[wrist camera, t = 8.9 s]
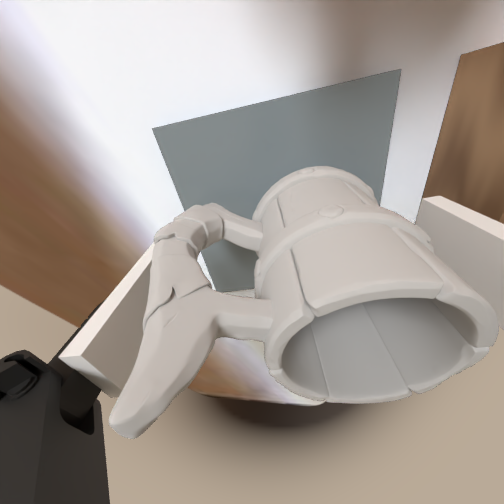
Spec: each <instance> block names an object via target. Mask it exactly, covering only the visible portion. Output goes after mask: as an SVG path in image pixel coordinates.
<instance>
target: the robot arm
mask: <svg viewBox="0 0 504 504" xmlns="http://www.w3.org/2000/svg"><path fill="white" fill-rule="evenodd" d="M415 225H417V226H419V227H421V228H422V229H423V230H424V231H425V232H426V233H427V234H428V236H429V237H430V238H431V243H430V244H431V245H433V248H434V252H435V255H436V256H437V257H438V258H439V259H441V260H442V261H443V262H444V263H445V264H446V265H447V266H449V267H450V268H451V269H452V270H453V271H454V272H455V273H457V274H458V275H459V276H460V277H461V278H462V279H463V280H465V281H466V282H467V283H468V284H469V285H470V286H471V287H472V288H474V289H475V290H476V291H477V292H478V293H479V294H480V295H481V296H483V297H484V298H485V299H486V300H487V302H488V303H489V304H490V305H491V306H492V308H493V309H494V311H495V313H496V315H497V318H498V324H499V326H500V327H501V328H502V329H503V330H504V224H502V223H500V222H498V221H496V220H493V219H491V218H489V217H487V216H484V215H482V214H480V213H478V212H475V211H473V210H471V209H469V208H467V207H464V206H462V205H460V204H458V203H455V202H453V201H451V200H449V199H446V198H444V197H442V196H434V197H428V198H422V201H421V205H420V208H419V212H418V216H417V219H416V223H415ZM154 246H155V244H154V242H153V244H152V245H151V246H150V247H149V248H148V250H147V251H146V252H145V253H144V254H143V256H142V257H141V258H140V259H139V261H138V262H137V263H136V264H135V265H134V267H133V268H132V269H131V270H130V271H129V273H128V274H127V275H126V276H125V277H124V279H123V280H122V281H121V282H120V283H119V285H118V286H117V287H116V288H115V289H114V291H113V292H112V293H111V294H110V295H109V297H108V298H107V299H105V300H104V301H103V302H102V303H100V304H99V305H98V306H97V307H96V308H95V309H94V310H93V312H92V313H91V314H90V315H89V316H88V319H86V320H85V321H84V322H83V323H82V324H81V327H80V328H78V329H77V330H76V332H75V333H74V334H73V335H72V336H71V337H70V339H69V340H68V341H67V342H66V343H65V345H64V346H63V347H62V348H61V349H60V350H59V352H58V353H57V354H56V355H55V356H54V357H53V359H52V360H51V361H50V362H49V363H48V364H46V363H45V362H43V361H42V360H40V359H39V358H38V357H36V356H35V355H34V354H32V353H31V352H29V351H26V350H21V351H16V352H14V353H12V354H9V355H7V356H5V357H4V358H2V359H0V504H110V500H109V488H108V477H107V467H106V456H105V446H104V434H103V423H102V412H101V404H100V402H99V401H98V400H97V397H98V395H99V393H100V392H101V390H102V391H103V392H104V393H106V394H107V395H108V396H109V397H111V398H113V397H119V396H120V394H121V392H122V390H123V388H124V386H125V384H126V383H127V381H128V379H129V377H130V375H131V372H132V370H133V368H134V365H135V363H136V360H137V357H138V354H139V350H140V346H141V342H142V339H143V335H144V333H143V319H144V315H145V311H146V306H147V301H148V294H149V285H150V268H151V266H152V255H153V249H154Z"/></svg>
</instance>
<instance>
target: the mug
mask: <svg viewBox="0 0 504 504" xmlns="http://www.w3.org/2000/svg"><path fill="white" fill-rule="evenodd" d="M221 239H224V240H227V241H230V242H232V243H234V244H236V245H238V246H241V247H243V248H246V249H250V250H253V251H256V254H257V256H258V257H259V259H258V260H257V261H256V265H255V269H254V277H255V278H254V281H255V298H251V297H240V296H234V295H229V294H225V293H221V292H218V291H215V290H213V289H212V286H211V283H210V281H209V280H208V279H207V278H206V276H205V275H204V273H203V271H202V269H201V267H200V265H199V263H198V262H197V257H198V255H199V253H200V251H201V250H204V249H206V248H207V247H209V246H210V245H212V244H214V243H216V242H219V241H220V240H221ZM430 243H431V238H430V237H429V236H428V234H427V233H426V232H425V231H424V230H423V229H422V228H421V227H419V226H417V225H414V224H413V223H412V222H410V221H408V220H407V219H405V218H404V217H402V216H401V215H399V214H397V213H395V212H393V211H390V210H388V209H385V208H382V207H380V206H379V205H378V203H377V200H376V198H375V197H374V193H373V190H372V188H371V187H370V186H368V185H366V184H365V183H364V182H363V181H362V180H361V179H360V178H358V177H357V176H355V175H353V174H351V173H349V172H346V171H344V170H342V169H337V168H334V167H329V166H315V167H307V168H303V169H300V170H297V171H295V172H293V173H291V174H289V175H287V176H285V177H283V178H281V179H280V180H279V181H278V182H276V183H275V184H274V185H273V186H271V188H270V189H269V190H268V191H267V192H266V193H265V195H264V196H263V197H262V199H261V200H260V202H259V204H258V205H257V208H256V210H255V212H254V213H253V217H252V220H250V219H247V218H244V217H241V216H238V215H236V214H234V213H232V212H230V211H228V210H226V209H225V208H224V207H222V206H220V205H218V204H216V203H210V204H206V205H203V206H201V205H194V206H192V207H190V208H189V209H188V210H186V211H185V212H183V213H182V214H180V215H178V216H177V217H175V218H174V221H173V222H171V223H169V224H167V225H166V226H164V227H163V228H161V229H160V230H159V231H158V232H157V233H156V234H155V236H154V244H155V246H154V249H153V255H152V266H151V268H150V285H149V294H148V301H147V306H146V311H145V315H144V319H143V333H144V335H143V339H142V342H141V346H140V350H139V354H138V357H137V360H136V363H135V365H134V368H133V370H132V372H131V375H130V377H129V379H128V381H127V383H126V384H125V386H124V388H123V390H122V392H121V394H120V396H119V398H118V400H117V402H116V404H115V406H114V408H113V410H112V412H111V414H110V417H109V425H110V426H111V427H112V428H113V429H114V430H115V431H116V432H117V433H118V434H119V435H121V436H123V437H126V438H130V439H135V438H137V437H139V436H140V435H141V434H143V433H144V432H145V431H146V430H147V429H148V427H150V426H151V425H152V424H153V423H154V422H155V421H156V419H157V418H158V417H159V416H160V415H161V414H162V413H163V412H164V411H165V410H166V408H167V407H168V406H169V405H170V403H171V402H172V400H173V399H174V398H175V397H176V396H177V395H178V394H179V393H181V392H182V391H184V390H185V389H186V388H187V387H188V386H189V385H190V383H191V382H192V381H193V379H194V378H195V377H196V375H197V373H198V372H199V370H200V368H201V367H202V365H203V364H204V362H205V360H206V359H207V357H208V355H209V353H210V352H211V350H212V348H213V346H214V343H215V340H216V339H217V338H220V337H228V338H234V339H239V340H256V341H261V342H264V354H265V362H266V364H267V367H268V368H269V373H270V375H271V376H273V377H274V378H275V380H276V381H277V382H278V383H280V384H281V385H283V386H284V387H285V388H287V389H288V390H290V391H291V392H293V393H295V394H297V395H300V396H303V397H306V398H309V399H312V400H317V401H324V400H326V401H327V402H334V403H352V404H366V403H379V402H390V401H396V400H400V399H403V398H406V397H410V396H411V395H412V391H414V392H416V393H418V394H421V393H424V392H426V391H429V390H431V389H433V388H435V387H436V386H437V385H439V384H440V383H442V382H443V381H445V380H447V379H448V378H449V377H450V376H452V375H454V374H458V373H460V372H462V371H463V370H465V369H467V368H469V367H471V366H473V365H474V364H476V363H477V362H479V361H480V360H481V359H483V358H484V357H485V356H486V355H487V354H488V352H489V346H493V345H494V343H495V341H496V339H497V336H498V331H499V324H498V318H497V315H496V313H495V311H494V309H493V308H492V306H491V305H490V304H489V303H488V302H487V300H486V299H485V298H484V297H483V296H481V295H480V294H479V293H478V292H477V291H476V290H475V289H474V288H472V287H471V286H470V285H469V284H468V283H467V282H466V281H465V280H463V279H462V278H461V277H460V276H459V275H458V274H457V273H455V272H454V271H453V270H452V269H451V268H450V267H449V266H447V265H446V264H445V263H444V262H443V261H442V260H441V259H439V258H438V257H437V256H436V255H435V252H434V248H433V245H431V244H430ZM411 390H412V391H411Z"/></svg>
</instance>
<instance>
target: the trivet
mask: <svg viewBox="0 0 504 504" xmlns="http://www.w3.org/2000/svg"><path fill="white" fill-rule="evenodd" d="M400 75H401V69H398V70H394V71H390V72H385V73H381V74H377V75H373V76H369V77H365V78H360V79H356V80H352V81H348V82H344V83H340V84H335V85H331V86H327V87H323V88H319V89H315V90H310V91H306V92H302V93H298V94H294V95H290V96H285V97H281V98H277V99H273V100H269V101H265V102H260V103H256V104H252V105H248V106H244V107H240V108H236V109H231V110H227V111H223V112H219V113H215V114H211V115H206V116H202V117H198V118H194V119H190V120H186V121H181V122H177V123H173V124H169V125H165V126H161V127H156V128H152V130H153V133H154V135H155V138H156V140H157V143H158V145H159V148H160V150H161V153H162V155H163V158H164V160H165V163H166V165H167V168H168V170H169V173H170V175H171V178H172V180H173V183H174V185H175V188H176V190H177V193H178V196H179V198H180V201H181V203H182V206H183V208H184V211H186V210H188V209H189V208H190V207H192V206H194V205H201V206H203V205H206V204H210V203H216V204H218V205H220V206H222V207H224V208H225V209H226V210H228V211H230V212H232V213H234V214H236V215H238V216H241V217H244V218H247V219H250V220H252V217H253V213H254V212H255V210H256V208H257V205H258V204H259V202H260V200H261V199H262V197H263V196H264V195H265V193H266V192H267V191H268V190H269V189H270V188H271V186H273V185H274V184H275V183H276V182H278V181H279V180H280V179H281V178H283V177H285V176H287V175H289V174H291V173H293V172H295V171H297V170H300V169H303V168H307V167H315V166H329V167H334V168H337V169H342V170H344V171H346V172H349V173H351V174H353V175H355V176H357V177H358V178H360V179H361V180H362V181H363V182H364V183H365V184H366V185H368V186H370V187H371V188H372V190H373V193H374V197H375V198H376V200H377V203H378V205H379V206H380V201H381V194H382V188H383V182H384V175H385V169H386V163H387V156H388V150H389V144H390V138H391V131H392V125H393V119H394V112H395V106H396V100H397V94H398V87H399V81H400ZM201 253H202V256H203V258H204V261H205V263H206V266H207V268H208V271H209V273H210V276H211V278H212V281H213V283H214V286H215V288H216V291H218V292H229V291H238V290H246V289H254V288H255V281H254V278H255V277H254V269H255V265H256V261H257V260H258V259H259V257H258V256H257V254H256V251H253V250H250V249H246V248H243V247H241V246H238V245H236V244H234V243H232V242H230V241H227V240H224V239H221V240H220V241H219V242H216V243H214V244H212V245H210V246H209V247H207V248H206V249H204V250H201Z"/></svg>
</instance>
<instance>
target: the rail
mask: <svg viewBox="0 0 504 504" xmlns="http://www.w3.org/2000/svg"><path fill="white" fill-rule="evenodd" d="M434 196H442V197H444V198H446V199H449V200H451V201H453V202H455V203H458V204H460V205H462V206H464V207H467V208H469V209H471V210H473V211H475V212H478V213H480V214H482V215H484V216H487V217H489V218H491V219H493V220H496V221H498V222H500V223H502V224H504V42H503V43H500V44H496V45H493V46H489V47H486V48H483V49H479V50H476V51H473V52H469V53H466V54H463V55H461V57H460V61H459V65H458V68H457V72H456V76H455V79H454V83H453V87H452V90H451V94H450V98H449V101H448V105H447V109H446V112H445V116H444V120H443V123H442V127H441V131H440V134H439V138H438V142H437V145H436V149H435V153H434V156H433V160H432V164H431V167H430V171H429V175H428V178H427V182H426V186H425V189H424V193H423V197H422V198H428V197H434ZM421 201H422V200H421ZM420 205H421V204H420ZM418 212H419V211H418ZM417 216H418V215H417ZM415 223H416V222H415Z"/></svg>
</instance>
